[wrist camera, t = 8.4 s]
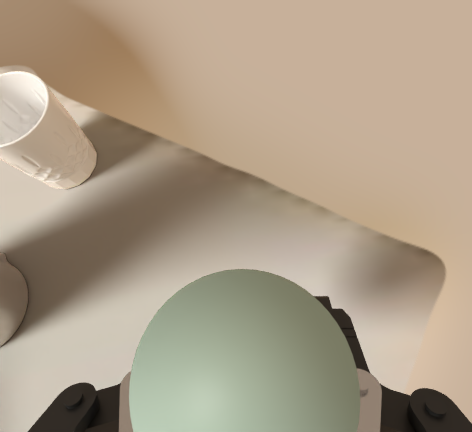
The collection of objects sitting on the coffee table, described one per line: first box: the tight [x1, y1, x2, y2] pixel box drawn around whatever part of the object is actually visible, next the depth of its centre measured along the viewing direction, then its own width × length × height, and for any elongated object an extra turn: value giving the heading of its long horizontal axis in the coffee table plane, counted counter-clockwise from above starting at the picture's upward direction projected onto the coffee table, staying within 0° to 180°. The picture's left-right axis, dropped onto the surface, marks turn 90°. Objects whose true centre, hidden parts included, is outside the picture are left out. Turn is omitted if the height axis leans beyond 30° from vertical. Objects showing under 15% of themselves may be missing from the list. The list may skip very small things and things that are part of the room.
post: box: [129, 269, 360, 432], centre depth 13 cm, size 5×5×12 cm
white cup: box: [0, 71, 97, 189], centre depth 33 cm, size 8×8×10 cm
